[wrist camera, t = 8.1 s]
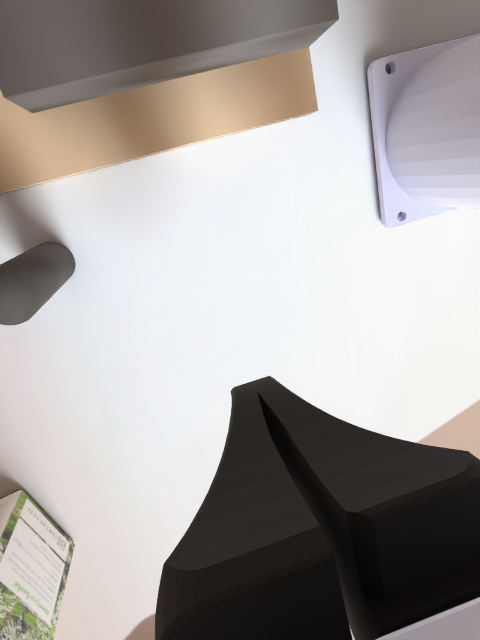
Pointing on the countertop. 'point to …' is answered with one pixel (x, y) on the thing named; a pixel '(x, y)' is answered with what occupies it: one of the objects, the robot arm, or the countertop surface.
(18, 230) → the countertop surface
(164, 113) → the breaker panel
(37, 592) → the syrup box
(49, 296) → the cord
